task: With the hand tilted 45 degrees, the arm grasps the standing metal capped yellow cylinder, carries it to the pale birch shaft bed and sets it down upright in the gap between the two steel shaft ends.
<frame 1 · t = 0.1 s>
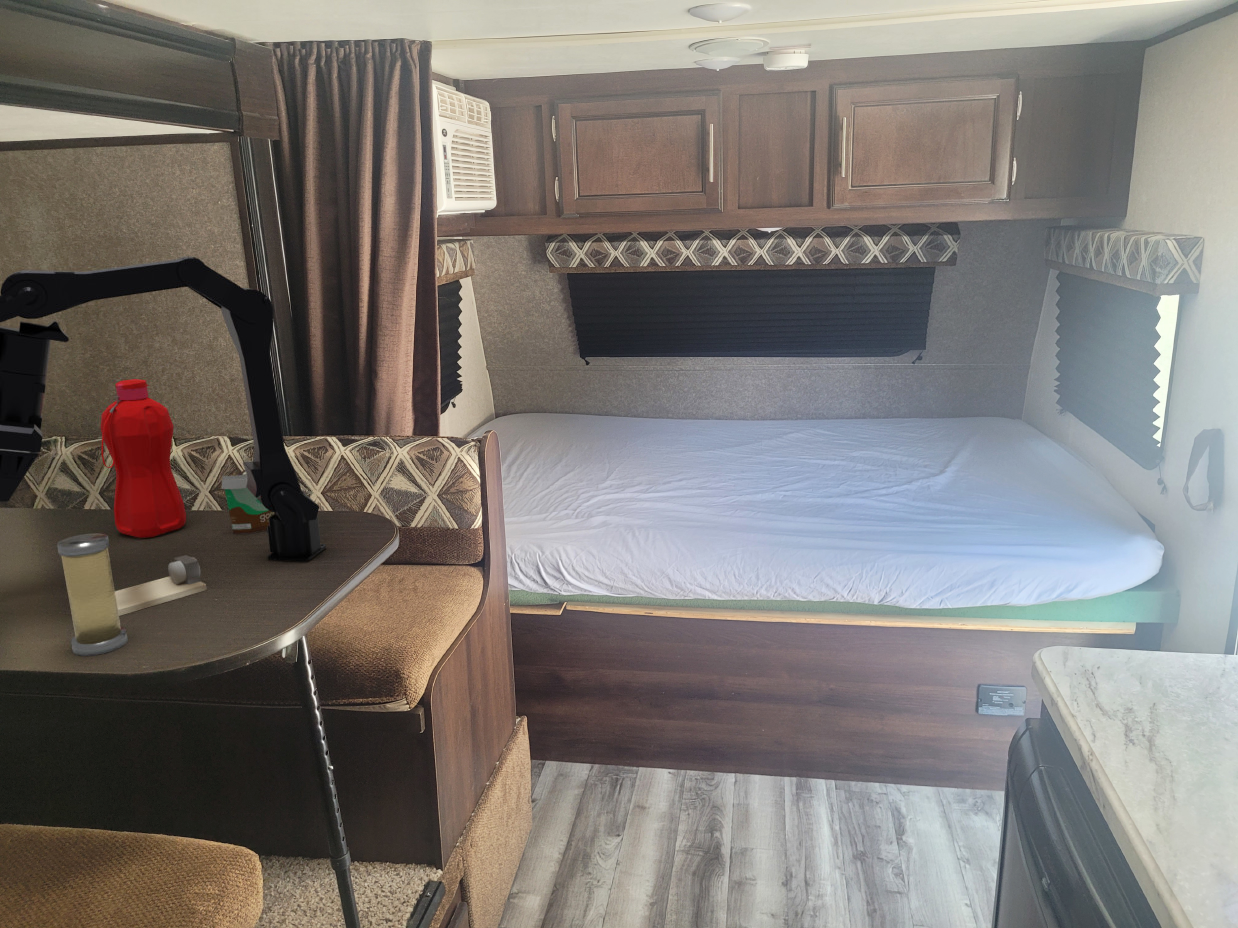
hand: (4, 492, 111), 15 cm above the table, tool pointing down, fingers open, 9 cm apart
metal capped yellow cylinder: (100, 644, 103), on the table
shaft bed: (142, 598, 117), on the table
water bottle: (148, 532, 144), on the table
food container: (266, 526, 147), on the table
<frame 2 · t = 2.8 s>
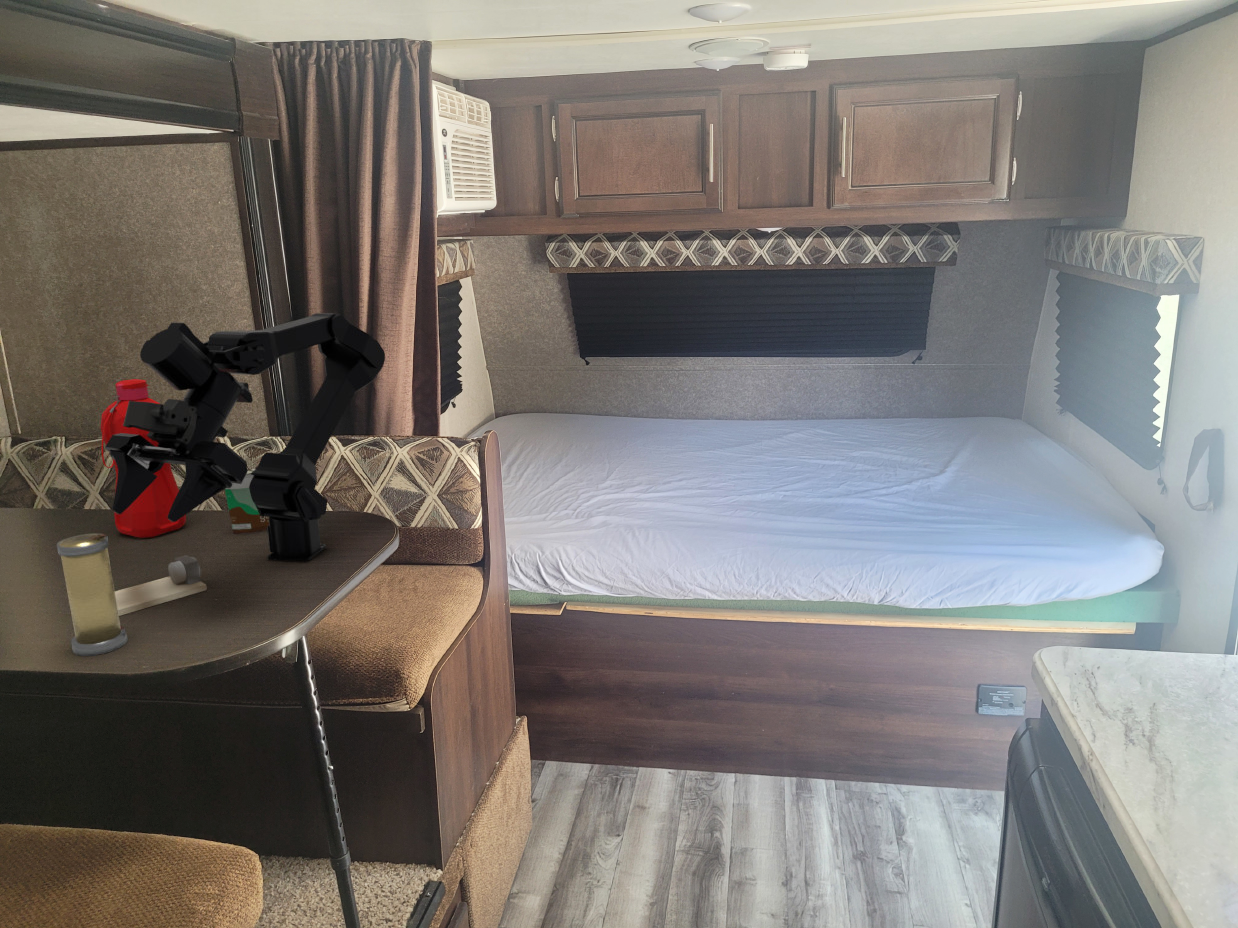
hand: (143, 516, 107), 13 cm above the table, tool tilted 45°, fingers open, 9 cm apart
nothing on the table moved.
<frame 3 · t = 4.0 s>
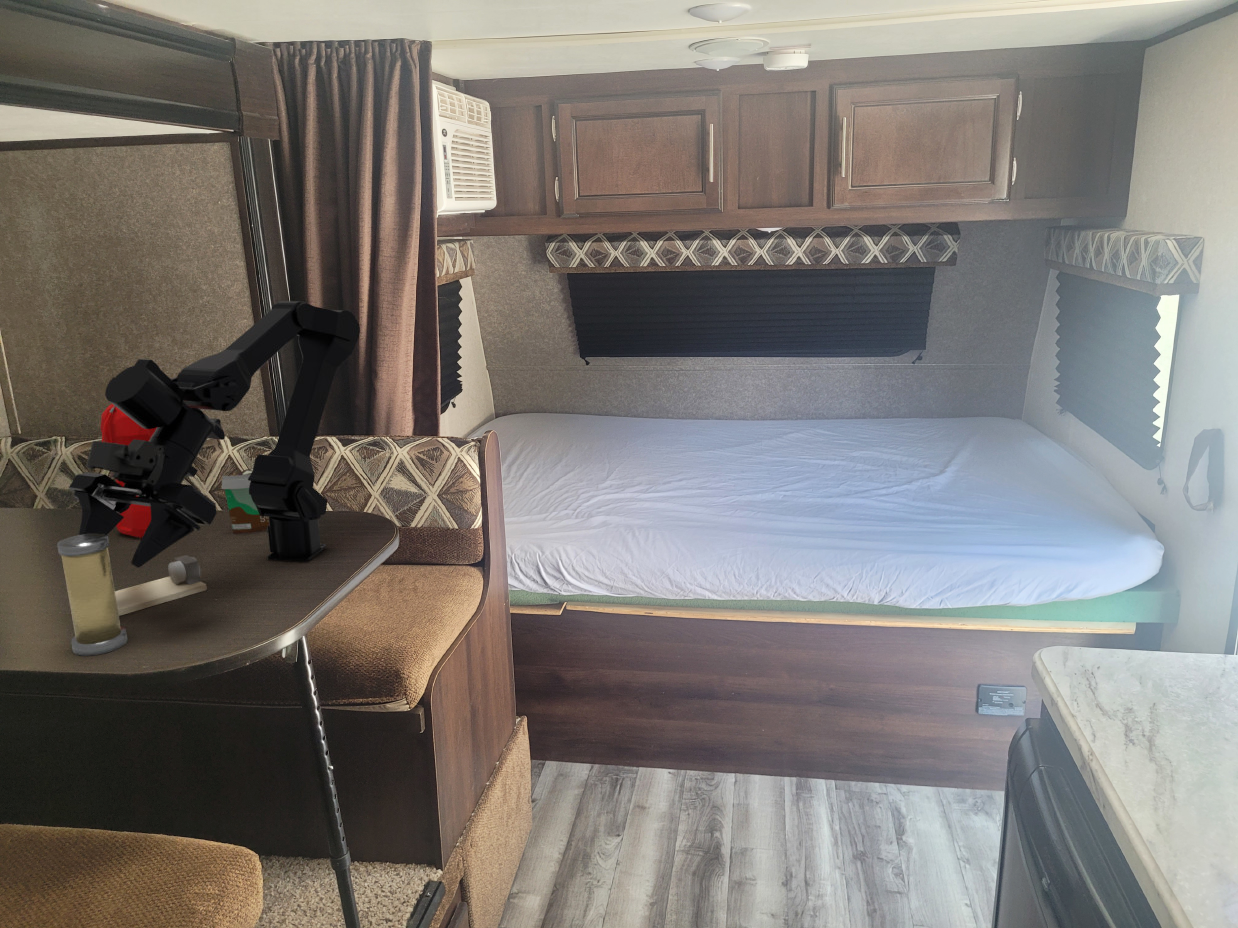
hand: (106, 560, 103), 10 cm above the table, tool tilted 45°, fingers open, 9 cm apart
nothing on the table moved.
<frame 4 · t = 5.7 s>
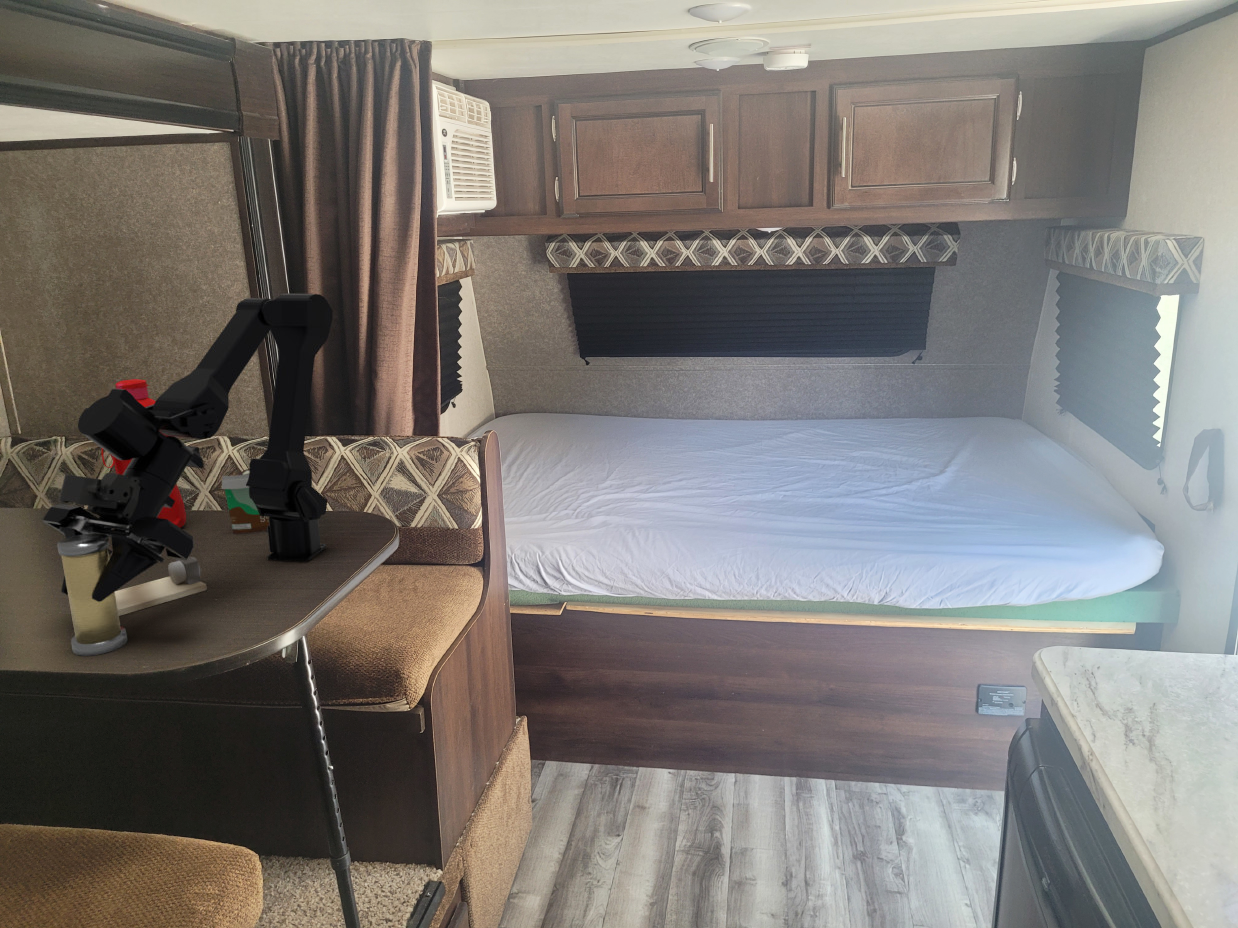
hand: (80, 597, 100), 7 cm above the table, tool tilted 45°, fingers closed on metal capped yellow cylinder, 5 cm apart
metal capped yellow cylinder: (100, 644, 103), on the table, touching gripper
everything else where it was.
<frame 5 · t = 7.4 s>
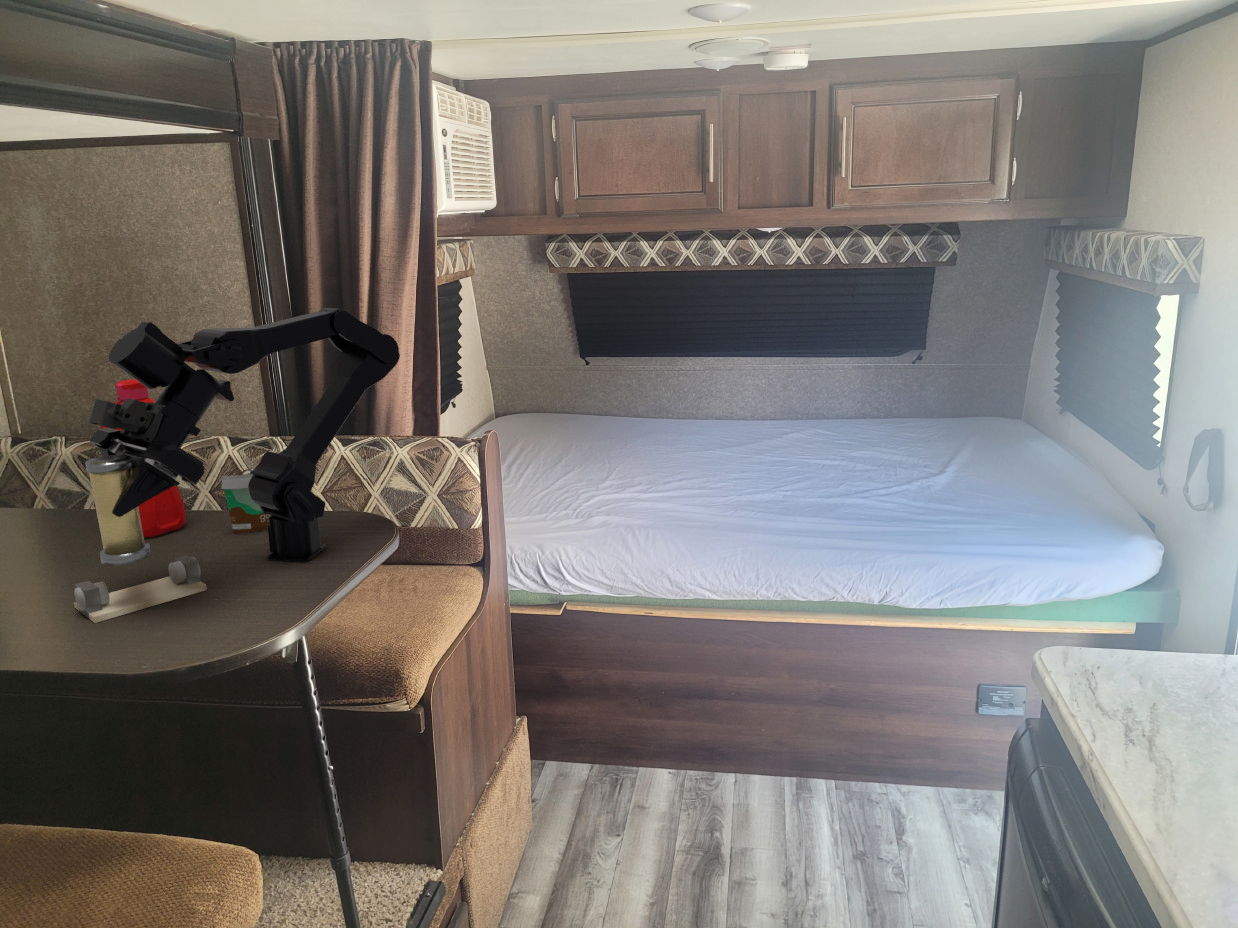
hand: (106, 511, 110), 13 cm above the table, tool tilted 45°, fingers closed on metal capped yellow cylinder, 5 cm apart
metal capped yellow cylinder: (126, 557, 113), point 7 cm above the table, touching gripper
everything else where it was.
when the fingers open (9 cm above the table, at t = 9.1 s): metal capped yellow cylinder drops 1 cm, resting on shaft bed.
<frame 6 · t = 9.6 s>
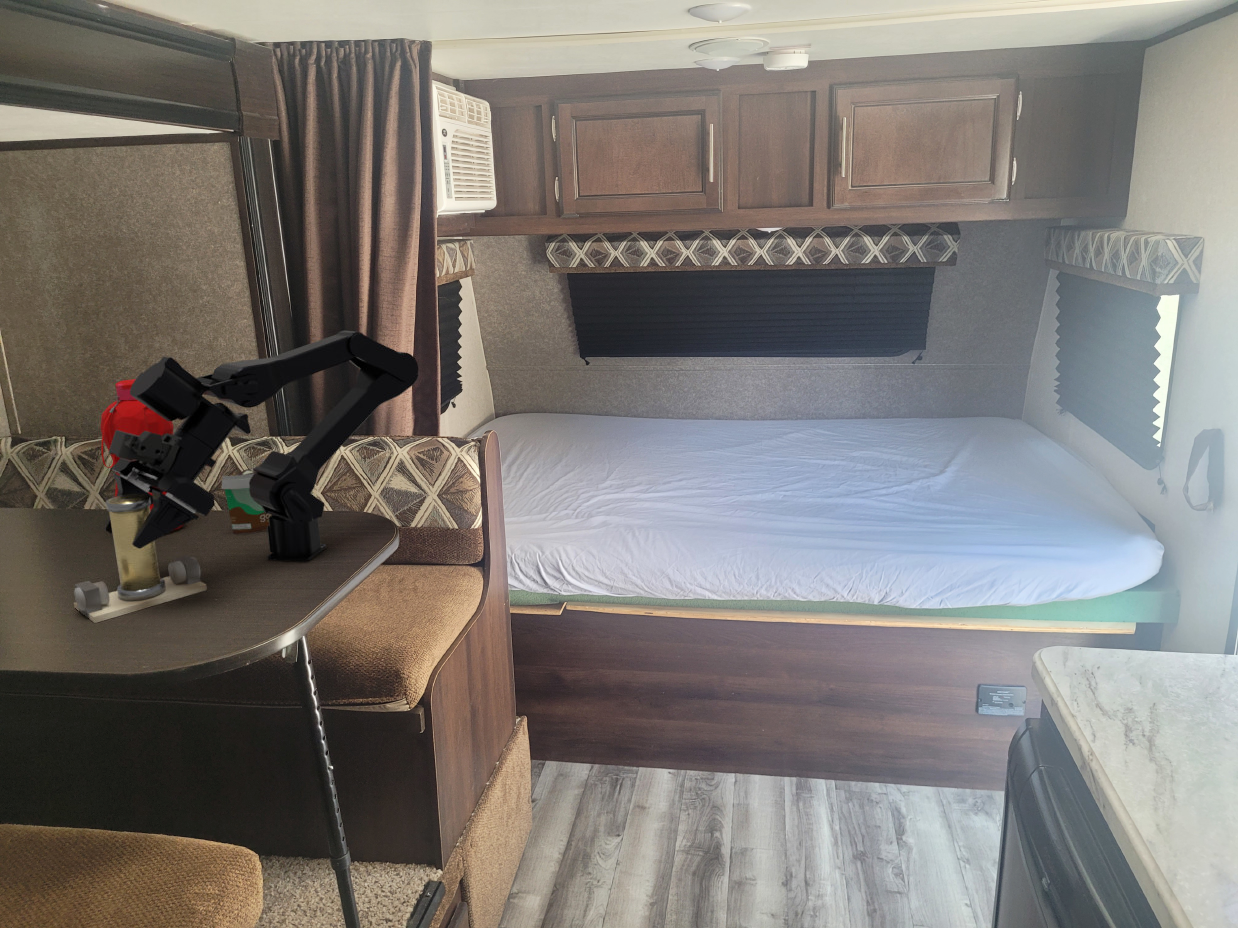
hand: (121, 539, 114), 9 cm above the table, tool tilted 45°, fingers open, 9 cm apart
metal capped yellow cylinder: (142, 592, 117), point 1 cm above the table, touching shaft bed
everything else where it was.
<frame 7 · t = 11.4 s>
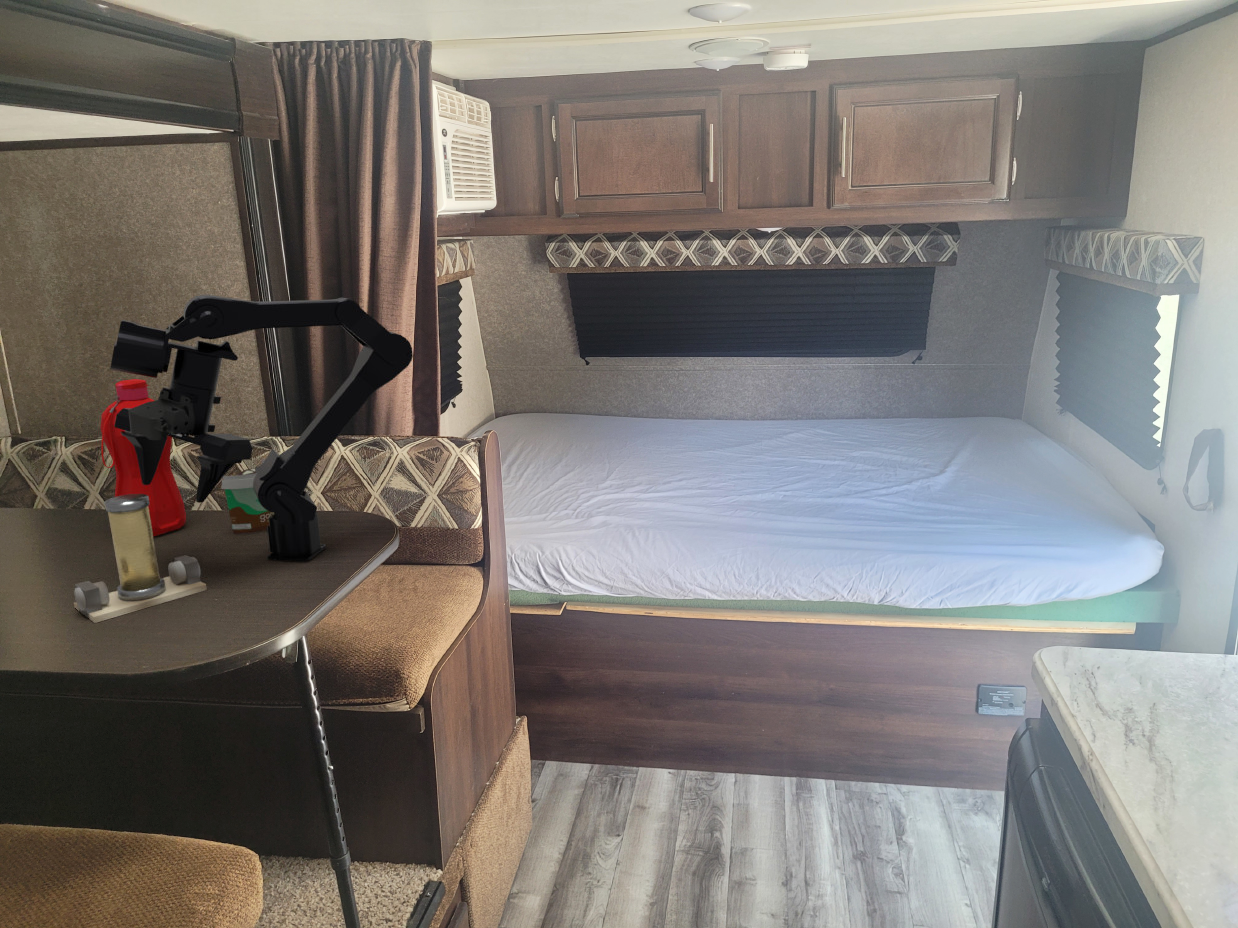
hand: (172, 493, 123), 12 cm above the table, tool tilted 15°, fingers open, 9 cm apart
nothing on the table moved.
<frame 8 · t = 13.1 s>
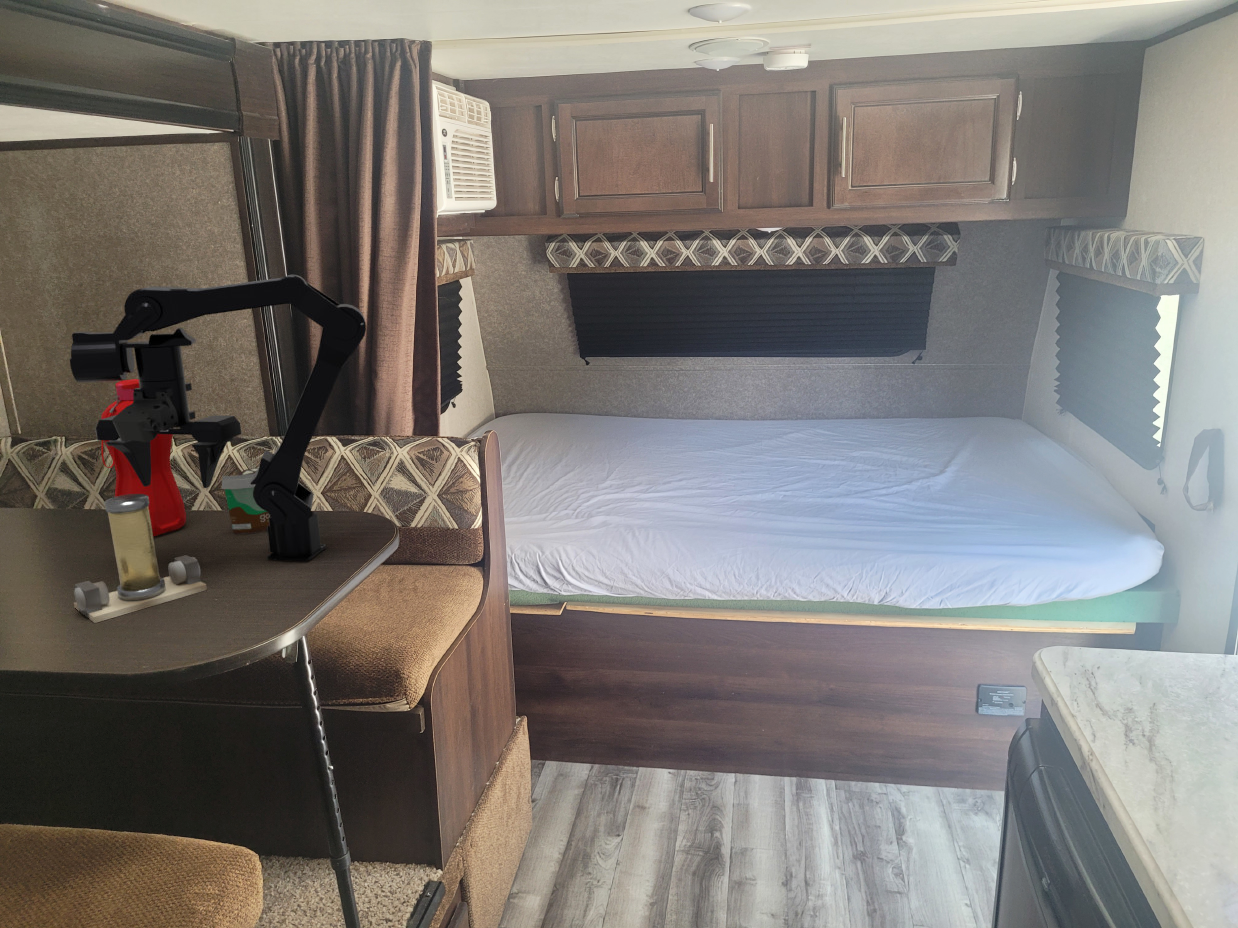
hand: (176, 486, 126), 12 cm above the table, tool pointing down, fingers open, 9 cm apart
nothing on the table moved.
at the end: metal capped yellow cylinder inside the target area on the shaft bed (0.1 cm from its centre), point 0.9 cm above the shaft bed's base; metal capped yellow cylinder tilted 1°; the gripper is holding nothing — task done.
